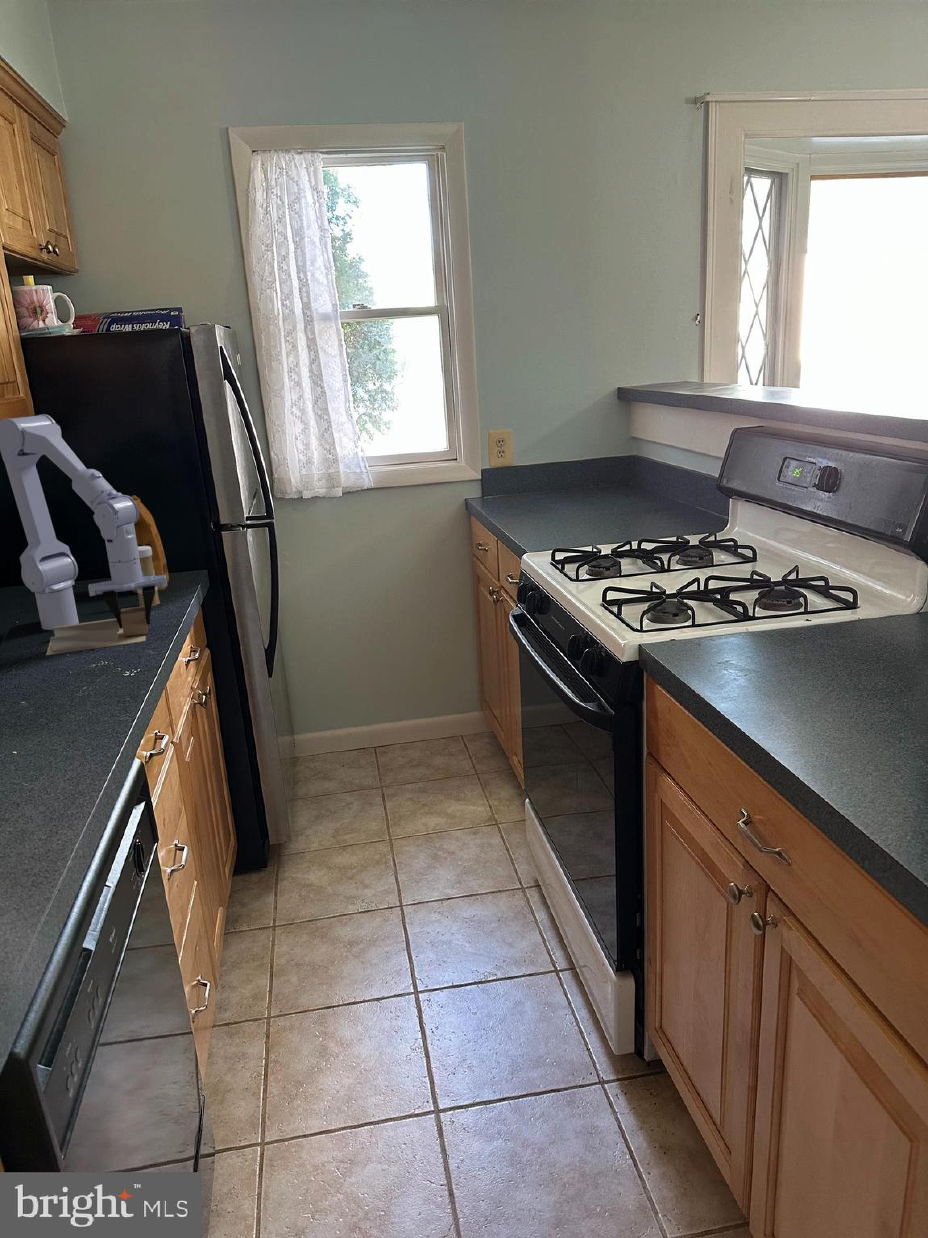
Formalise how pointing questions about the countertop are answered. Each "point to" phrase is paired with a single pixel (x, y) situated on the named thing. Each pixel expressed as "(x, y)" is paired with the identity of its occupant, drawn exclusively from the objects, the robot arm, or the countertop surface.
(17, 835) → the countertop surface
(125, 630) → the walnut block
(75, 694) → the countertop surface
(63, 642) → the frame
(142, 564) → the sprinkles bottle
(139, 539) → the coffee package
